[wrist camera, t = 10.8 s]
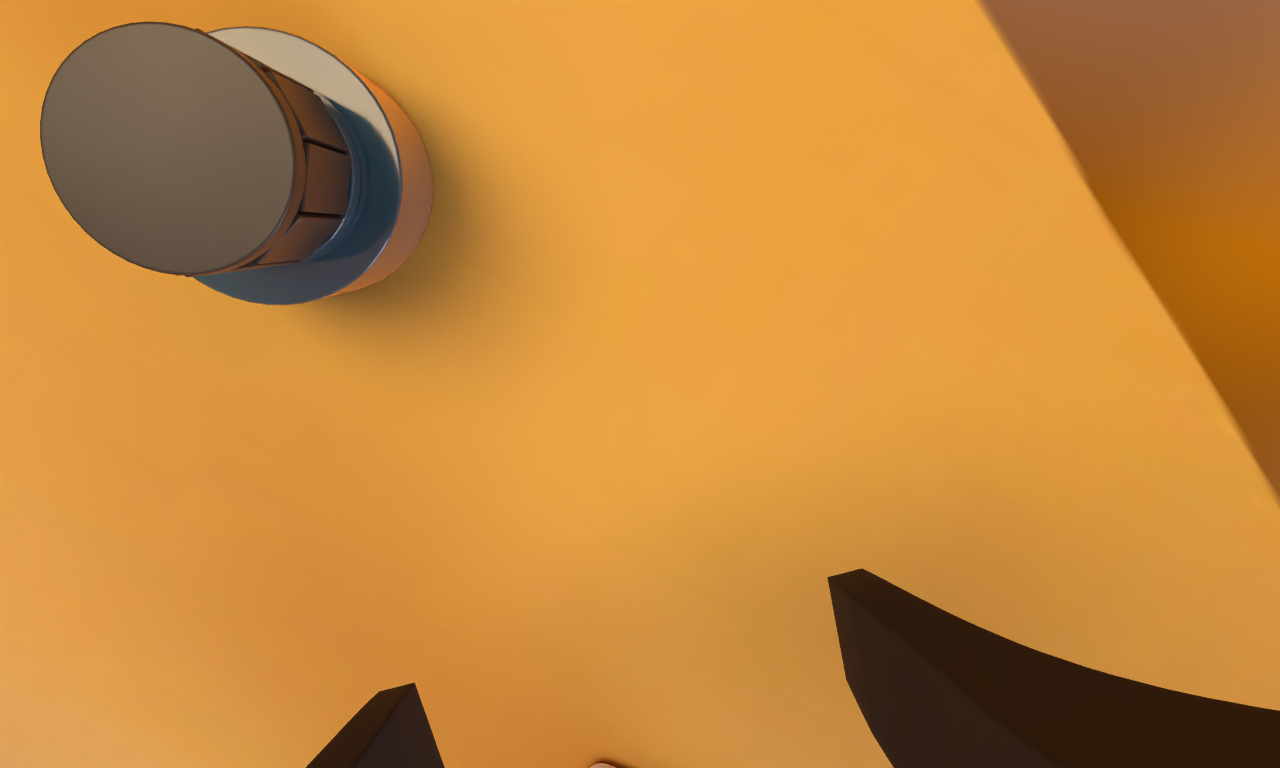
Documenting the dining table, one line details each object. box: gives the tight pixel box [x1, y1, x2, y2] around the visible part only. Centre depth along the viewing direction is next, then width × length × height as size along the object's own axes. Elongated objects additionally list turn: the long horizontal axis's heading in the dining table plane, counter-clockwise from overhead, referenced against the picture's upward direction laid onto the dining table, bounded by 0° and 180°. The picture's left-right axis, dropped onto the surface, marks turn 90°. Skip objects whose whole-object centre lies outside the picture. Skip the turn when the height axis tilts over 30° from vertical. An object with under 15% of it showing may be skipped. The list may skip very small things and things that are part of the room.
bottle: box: [193, 26, 433, 305], centre depth 16 cm, size 6×6×6 cm
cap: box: [40, 22, 351, 277], centre depth 13 cm, size 4×4×3 cm
